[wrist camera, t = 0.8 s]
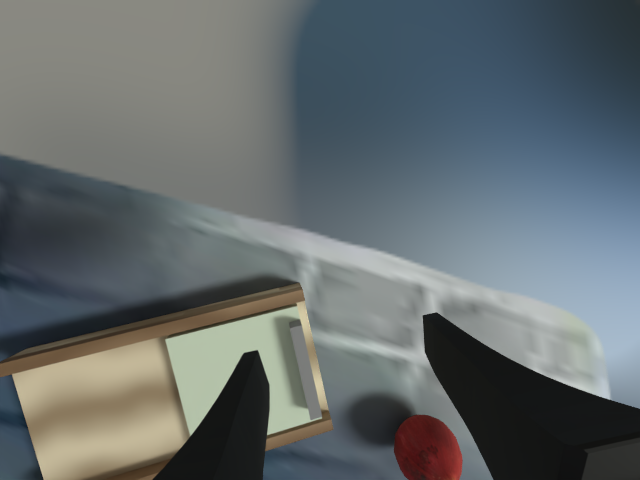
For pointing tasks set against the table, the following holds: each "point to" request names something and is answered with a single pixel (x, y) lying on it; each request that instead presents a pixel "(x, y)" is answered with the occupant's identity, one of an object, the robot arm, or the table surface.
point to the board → (129, 393)
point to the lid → (224, 354)
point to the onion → (427, 450)
